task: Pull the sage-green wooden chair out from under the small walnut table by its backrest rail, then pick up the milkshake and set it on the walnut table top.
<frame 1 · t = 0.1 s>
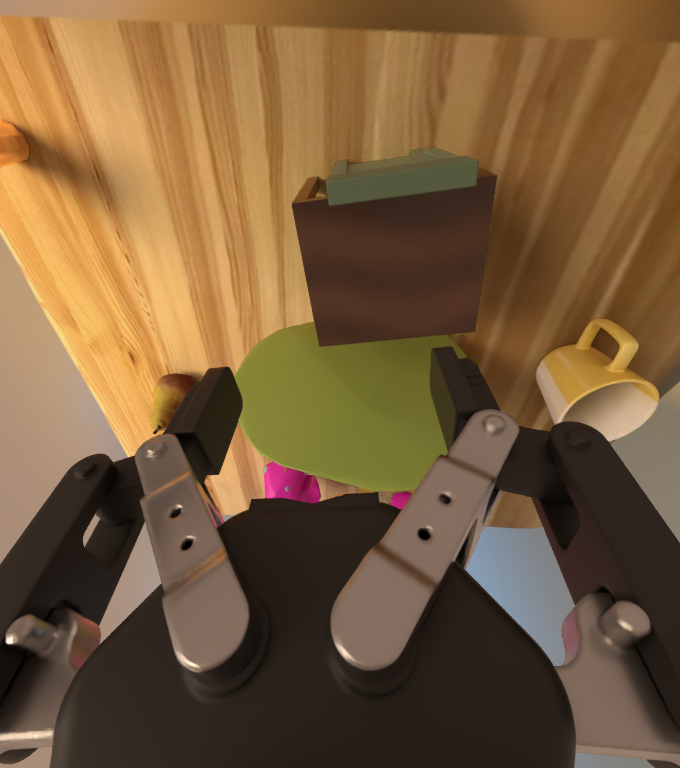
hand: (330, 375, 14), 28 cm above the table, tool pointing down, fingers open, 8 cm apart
mug: (567, 351, 45), on the table
table: (381, 233, 36), on the table
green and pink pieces: (352, 421, 54), on the table
fruit: (183, 380, 50), on the table
milkshake: (16, 145, 32), on the table
chair: (388, 218, 27), point 9 cm above the table, slide at 0.0 cm
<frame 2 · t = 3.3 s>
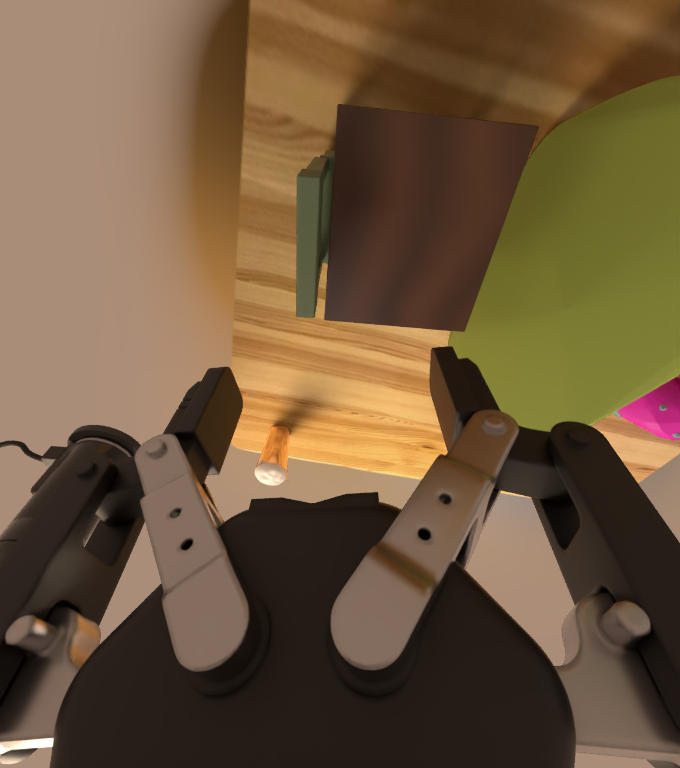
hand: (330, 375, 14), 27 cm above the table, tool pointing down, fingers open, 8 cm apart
table: (395, 204, 33), on the table
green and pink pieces: (628, 286, 38), on the table
milkshake: (282, 430, 54), on the table
chair: (363, 224, 26), point 9 cm above the table, slide at 0.0 cm
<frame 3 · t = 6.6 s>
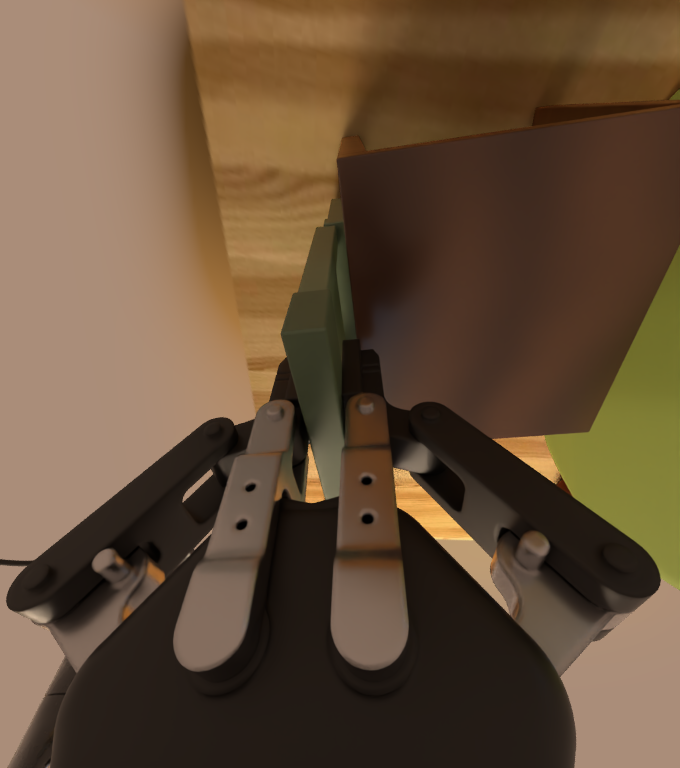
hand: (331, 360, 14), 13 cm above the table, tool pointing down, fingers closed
table: (438, 246, 24), on the table
chair: (405, 307, 17), point 9 cm above the table, slide at 0.0 cm, touching gripper
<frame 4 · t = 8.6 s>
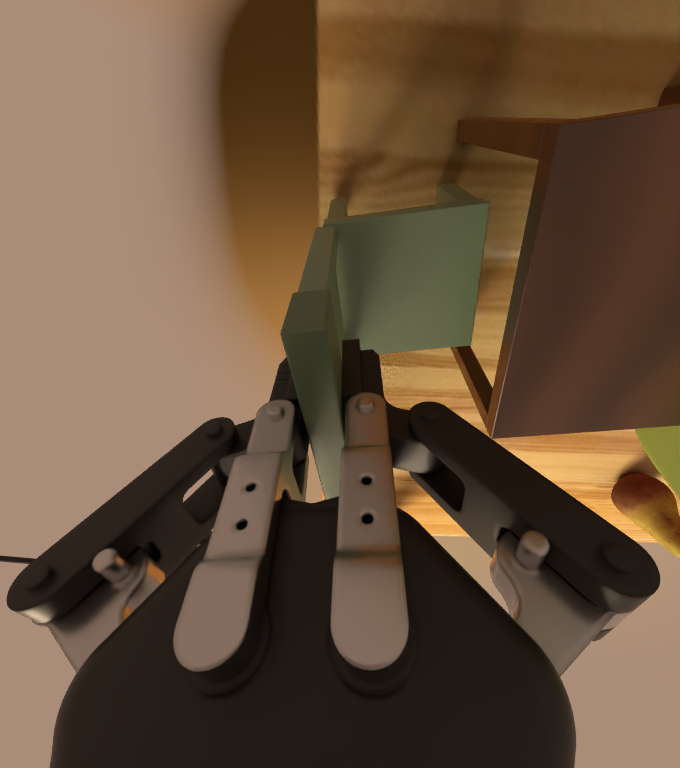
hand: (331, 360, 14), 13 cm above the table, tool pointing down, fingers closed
table: (538, 233, 23), on the table
fruit: (626, 478, 40), on the table
chair: (405, 307, 17), point 9 cm above the table, slide at 6.8 cm, touching gripper
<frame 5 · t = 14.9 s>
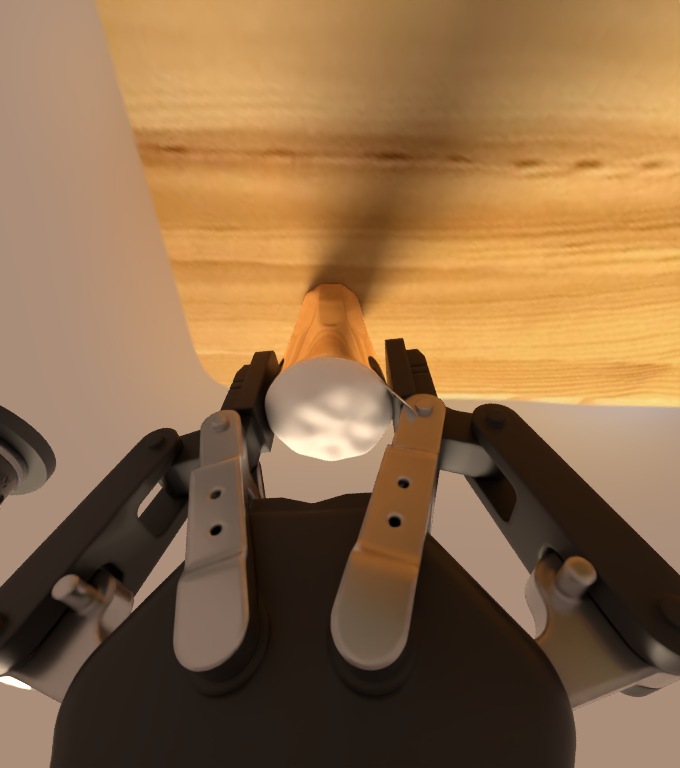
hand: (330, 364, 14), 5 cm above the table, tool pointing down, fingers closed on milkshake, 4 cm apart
milkshake: (337, 305, 18), on the table, touching gripper
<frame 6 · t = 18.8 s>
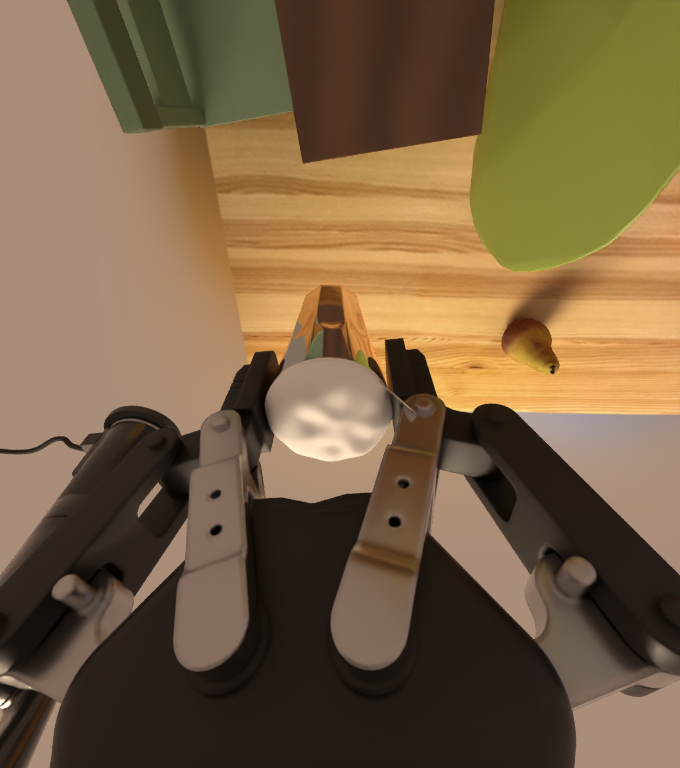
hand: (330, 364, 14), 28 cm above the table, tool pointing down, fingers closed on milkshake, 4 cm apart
table: (370, 36, 28), on the table
fruit: (516, 330, 45), on the table
milkshake: (337, 306, 18), point 22 cm above the table, touching gripper
chair: (220, 41, 22), point 9 cm above the table, slide at 6.8 cm
when the fingers open (17 cm above the table, at t = 22.5 s): milkshake stays where it is, point 12 cm above the table.
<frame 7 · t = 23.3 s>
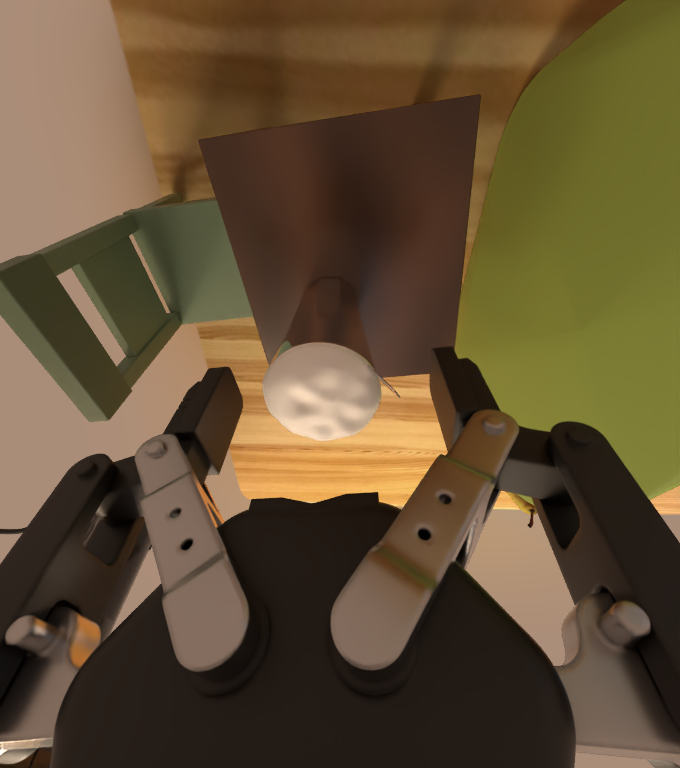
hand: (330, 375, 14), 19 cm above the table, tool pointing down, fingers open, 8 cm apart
table: (350, 223, 28), on the table
fruit: (500, 447, 45), on the table
milkshake: (336, 298, 19), point 12 cm above the table
chair: (193, 279, 22), point 9 cm above the table, slide at 6.8 cm
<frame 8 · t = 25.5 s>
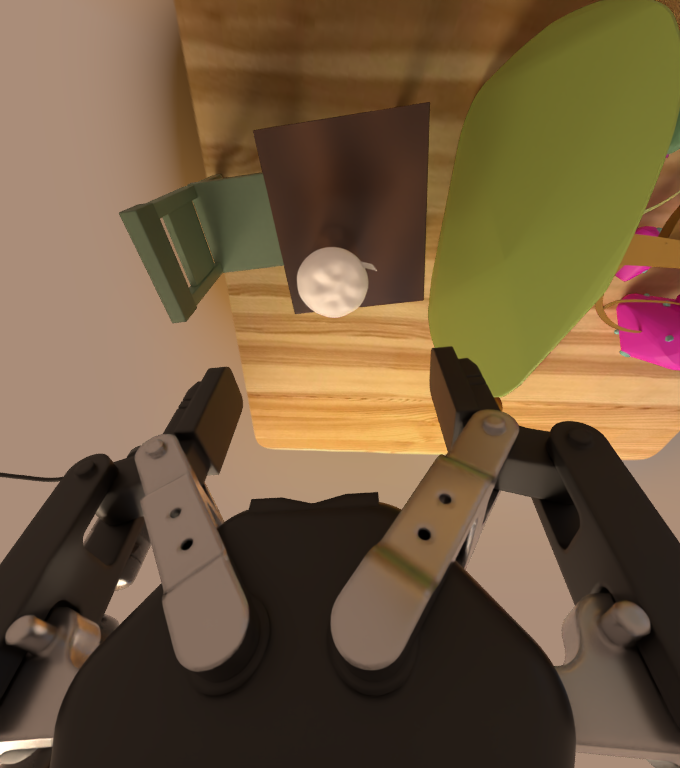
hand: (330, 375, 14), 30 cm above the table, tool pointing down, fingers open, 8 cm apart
table: (349, 198, 36), on the table
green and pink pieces: (605, 223, 37), on the table
milkshake: (340, 242, 28), point 12 cm above the table
chair: (236, 233, 30), point 9 cm above the table, slide at 6.8 cm
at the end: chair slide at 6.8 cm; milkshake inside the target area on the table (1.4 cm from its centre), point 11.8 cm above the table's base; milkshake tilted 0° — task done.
